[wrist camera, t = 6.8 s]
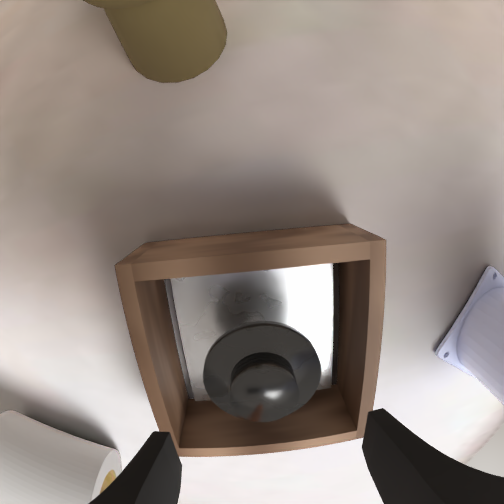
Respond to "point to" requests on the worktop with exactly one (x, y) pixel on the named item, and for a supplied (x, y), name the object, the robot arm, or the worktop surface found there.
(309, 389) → the plunger
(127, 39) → the brown tapered figure
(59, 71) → the worktop surface
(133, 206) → the worktop surface
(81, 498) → the toilet paper
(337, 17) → the worktop surface
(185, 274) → the frame
